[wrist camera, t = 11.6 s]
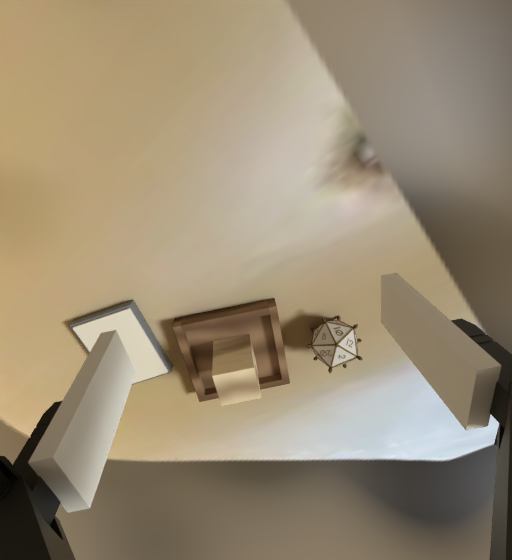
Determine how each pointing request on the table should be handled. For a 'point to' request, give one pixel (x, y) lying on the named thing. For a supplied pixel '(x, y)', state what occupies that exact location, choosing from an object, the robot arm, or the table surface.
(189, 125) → the table surface
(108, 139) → the table surface
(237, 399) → the beech block
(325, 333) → the game die
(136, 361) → the white grey flat slab
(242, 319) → the walnut tray
